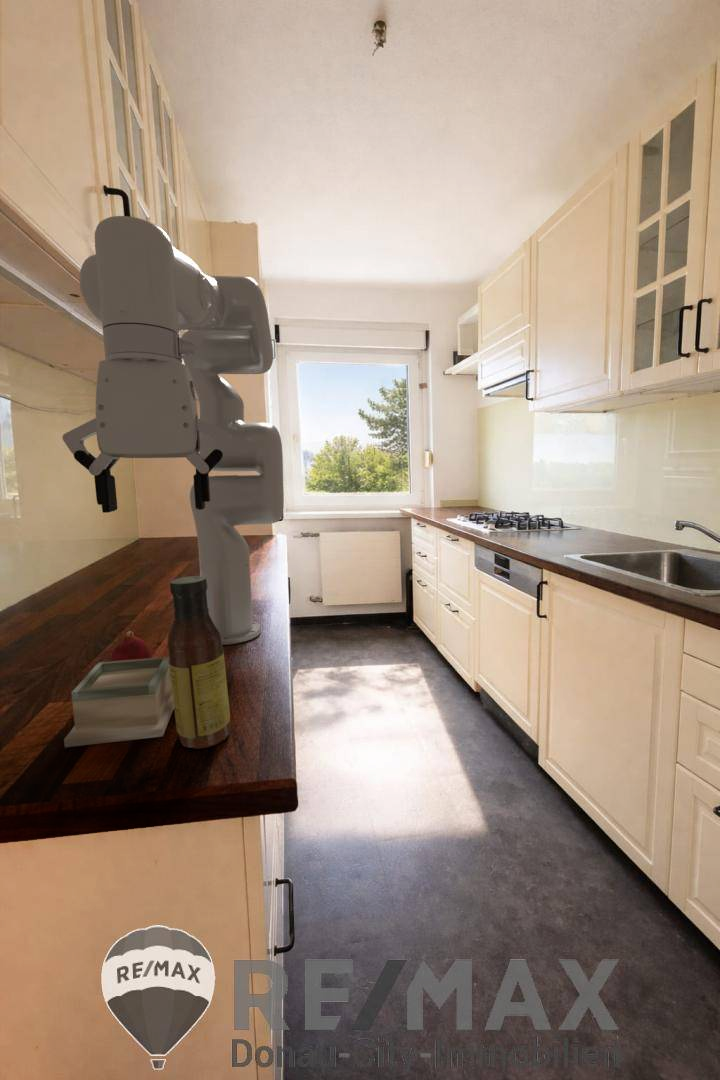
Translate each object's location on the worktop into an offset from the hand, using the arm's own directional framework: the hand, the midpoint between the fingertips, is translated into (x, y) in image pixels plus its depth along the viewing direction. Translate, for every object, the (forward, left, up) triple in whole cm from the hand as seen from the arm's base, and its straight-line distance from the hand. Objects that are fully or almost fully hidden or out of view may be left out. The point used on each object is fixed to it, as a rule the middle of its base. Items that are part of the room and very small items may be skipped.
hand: (156, 510), depth 54 cm
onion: (-19, -10, -28) cm, 35 cm away
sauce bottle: (0, +3, -28) cm, 28 cm away
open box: (-7, -7, -28) cm, 30 cm away
